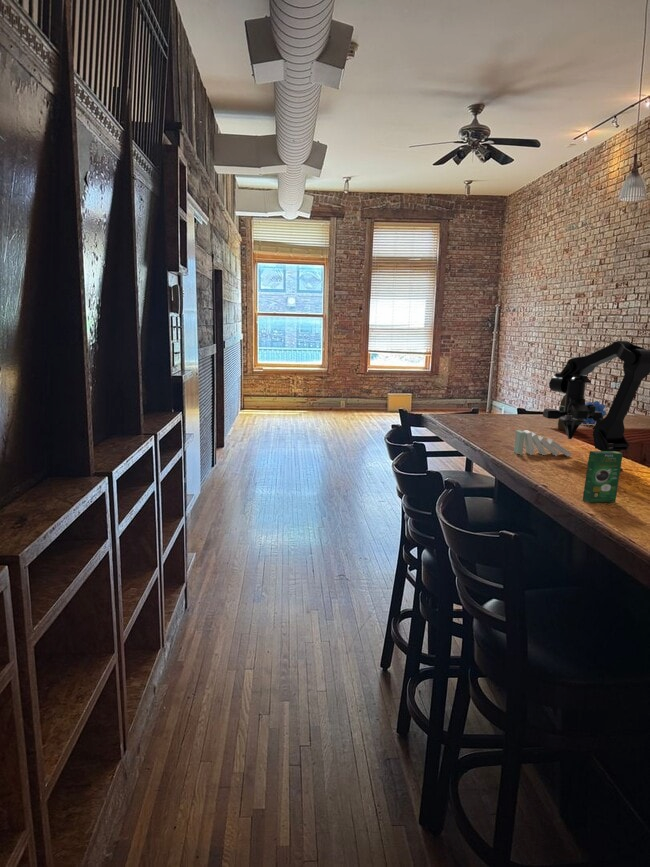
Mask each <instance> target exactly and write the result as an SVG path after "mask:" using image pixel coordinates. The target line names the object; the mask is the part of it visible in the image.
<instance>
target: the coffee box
mask: <svg viewBox="0 0 650 867" xmlns="http://www.w3.org/2000/svg"><path fill="white" fill-rule="evenodd" d="M622 461H623V452H617V451H601V450H589V452H588V460H587V466H586V467H587V468H586V473H585V474H586V475H585V482H584V487H583V488H584V489H583V495H582V501H583V502H585V503H588V504H589V503H591V504H592V503H594V504H595V503H597V504H598V503H616V500H617V494H618V486H619V480H620V474H621V471H620V469H621V468H622Z"/></svg>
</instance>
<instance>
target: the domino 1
mask: <svg viewBox="0 0 650 867" xmlns="http://www.w3.org/2000/svg"><path fill="white" fill-rule="evenodd" d="M523 431H524V430H518V429H516V430H515V438H514V446H513V447H514V448H513V453H514V452H515V454H516V455H517V454H520V455H519V456H523V452H524V451H523V450H524V444H525V442H524V432H523Z"/></svg>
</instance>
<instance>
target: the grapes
mask: <svg viewBox="0 0 650 867" xmlns="http://www.w3.org/2000/svg"><path fill="white" fill-rule="evenodd" d="M585 405H595V411H598V412H601V413H602V414H603V417H606V416H607V411H606V410H605V408H606V405H605V404H602V403H601V404H600V401H598V400H595V401H593V402H591V401H588V402H585ZM584 421H586V422H585V423H582V424H583V425H589V424H594V425H596V421H594V420H593V419H592V418H588V419H584Z"/></svg>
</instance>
